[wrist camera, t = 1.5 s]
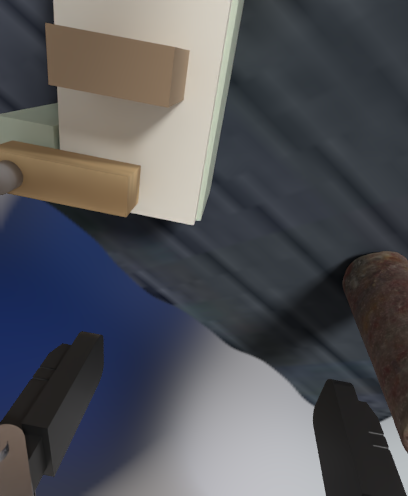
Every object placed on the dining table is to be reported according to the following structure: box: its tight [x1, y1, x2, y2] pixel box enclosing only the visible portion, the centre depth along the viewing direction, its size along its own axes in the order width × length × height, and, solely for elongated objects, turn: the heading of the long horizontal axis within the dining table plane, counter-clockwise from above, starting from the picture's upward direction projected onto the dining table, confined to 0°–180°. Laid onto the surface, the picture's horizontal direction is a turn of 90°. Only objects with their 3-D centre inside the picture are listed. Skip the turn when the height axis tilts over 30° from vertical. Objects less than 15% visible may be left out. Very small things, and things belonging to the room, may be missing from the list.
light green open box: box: [0, 0, 244, 221], centre depth 27 cm, size 22×16×10 cm
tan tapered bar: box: [0, 140, 141, 217], centre depth 24 cm, size 3×10×4 cm, turn 81°
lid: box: [45, 0, 232, 225], centre depth 21 cm, size 22×11×6 cm, turn 171°
